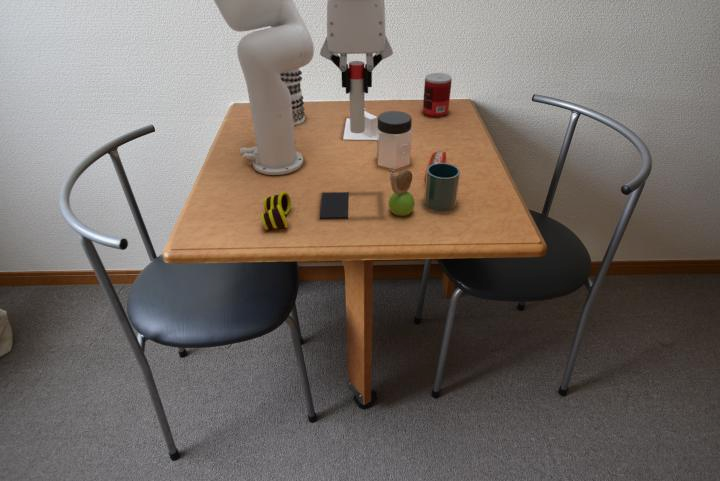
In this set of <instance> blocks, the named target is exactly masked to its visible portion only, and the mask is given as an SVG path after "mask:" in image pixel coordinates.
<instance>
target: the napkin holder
mask: <svg viewBox="0 0 720 481" xmlns="http://www.w3.org/2000/svg"><path fill="white" fill-rule="evenodd" d="M364 119H365V130H364V132H363V133H352V132H351V131H350V117H347V118H346V120H345V125H344V131H343V137H342V140H352V141H353V140H354V141H355V140H359V141H377V125H378V116H376V115H374V114H372V113H370V112H368V111H367V109H366V108H365V107H364Z"/></svg>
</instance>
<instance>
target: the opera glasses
mask: <svg viewBox="0 0 720 481" xmlns="http://www.w3.org/2000/svg"><path fill="white" fill-rule="evenodd" d="M291 199H292V198H291V195H290V194H289V193H288V192H287V191H285V190H283V191H281V192H280V193H279V194H273V195H270V196H265V197H264V198H263V208H264V211H265V213H264V212H262V213H260V220H261V222H262V226H263V228H264V230H266V231H267V230H269V229H278V228H282V227H283V228H286V229H287V228H288V227H289V224H288V221H287V218H286V215H288V214H289V213H290V210H291V208H292V207H291V206H292V200H291Z"/></svg>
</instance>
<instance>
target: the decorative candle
mask: <svg viewBox="0 0 720 481" xmlns="http://www.w3.org/2000/svg"><path fill="white" fill-rule="evenodd" d="M302 74H303V72H302V71H301V70H300V68H297V69H294V70H290V71H287V72H285V73H282V74H280V79H281V80H282V81H283V83H284V84H285V85H286V86H287V88H288V89H289V92H290V96H291V104H292V114H293V124H294V126H297V125H300V124H302V123H304V122H305V120H306V118H305V116H306V114H305V107H304V106H303V105H305V102H304V96H303V91H302V88H301V82H302V80H303V77H302V76H301V75H302Z"/></svg>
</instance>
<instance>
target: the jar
mask: <svg viewBox="0 0 720 481" xmlns="http://www.w3.org/2000/svg"><path fill="white" fill-rule="evenodd" d="M377 117H378V125H377V140H376V161H377V165H378V166H379V167H384V168H388V169H392V170H397V169H400V168H403V167H406V166H409V165H410V164H411V163H410V162H411V151H412V150H411V149H412V148H411V147H412V126H413V125H412V123H413V121H412V116H411V114H409V113H407V112H404V111H400V110H399V111H398V110H389V111H384V112H382V113H380V114H379V115H378V116H377Z"/></svg>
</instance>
